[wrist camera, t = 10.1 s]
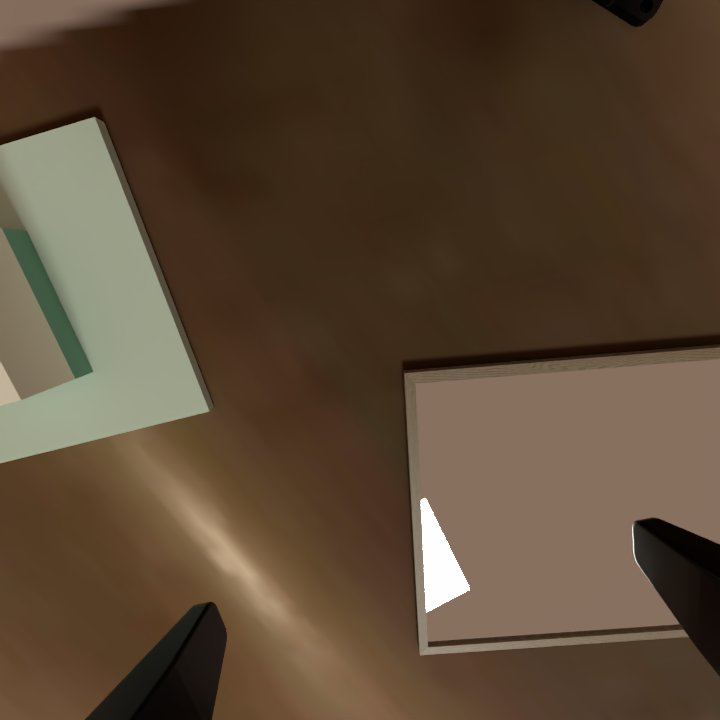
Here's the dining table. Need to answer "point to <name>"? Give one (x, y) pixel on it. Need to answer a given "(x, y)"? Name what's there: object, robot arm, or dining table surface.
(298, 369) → the dining table surface
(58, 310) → the mahjong tile
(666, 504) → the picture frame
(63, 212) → the mat
